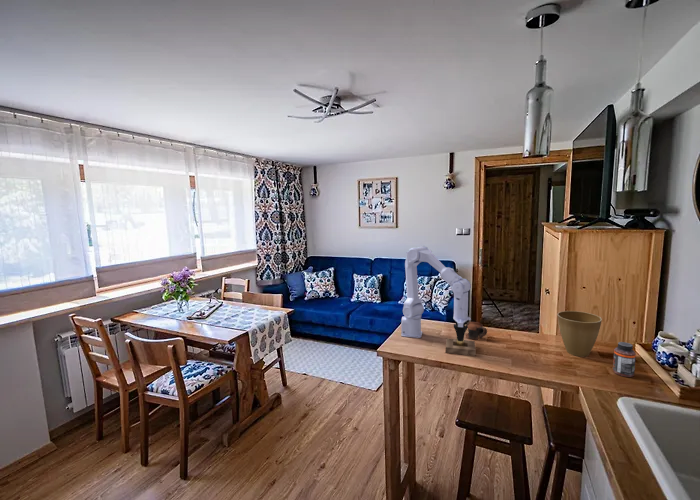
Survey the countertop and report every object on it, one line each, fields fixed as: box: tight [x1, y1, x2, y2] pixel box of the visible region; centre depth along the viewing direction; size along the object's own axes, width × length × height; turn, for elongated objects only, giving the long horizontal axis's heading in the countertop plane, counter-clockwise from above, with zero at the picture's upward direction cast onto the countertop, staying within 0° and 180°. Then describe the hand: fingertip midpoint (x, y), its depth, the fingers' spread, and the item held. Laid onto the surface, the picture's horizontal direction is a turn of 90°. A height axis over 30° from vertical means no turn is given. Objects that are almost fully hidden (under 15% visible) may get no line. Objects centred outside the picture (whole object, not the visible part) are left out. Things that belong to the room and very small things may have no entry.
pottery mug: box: [464, 321, 488, 341], centre depth 154 cm, size 12×10×8 cm
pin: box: [457, 338, 465, 346], centre depth 140 cm, size 3×3×7 cm
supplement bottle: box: [612, 341, 637, 378], centre depth 116 cm, size 6×6×11 cm
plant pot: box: [556, 310, 603, 358], centre depth 133 cm, size 15×15×16 cm
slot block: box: [445, 337, 477, 357], centre depth 140 cm, size 12×10×2 cm
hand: (460, 337), depth 140 cm, fingers open, 7 cm apart
